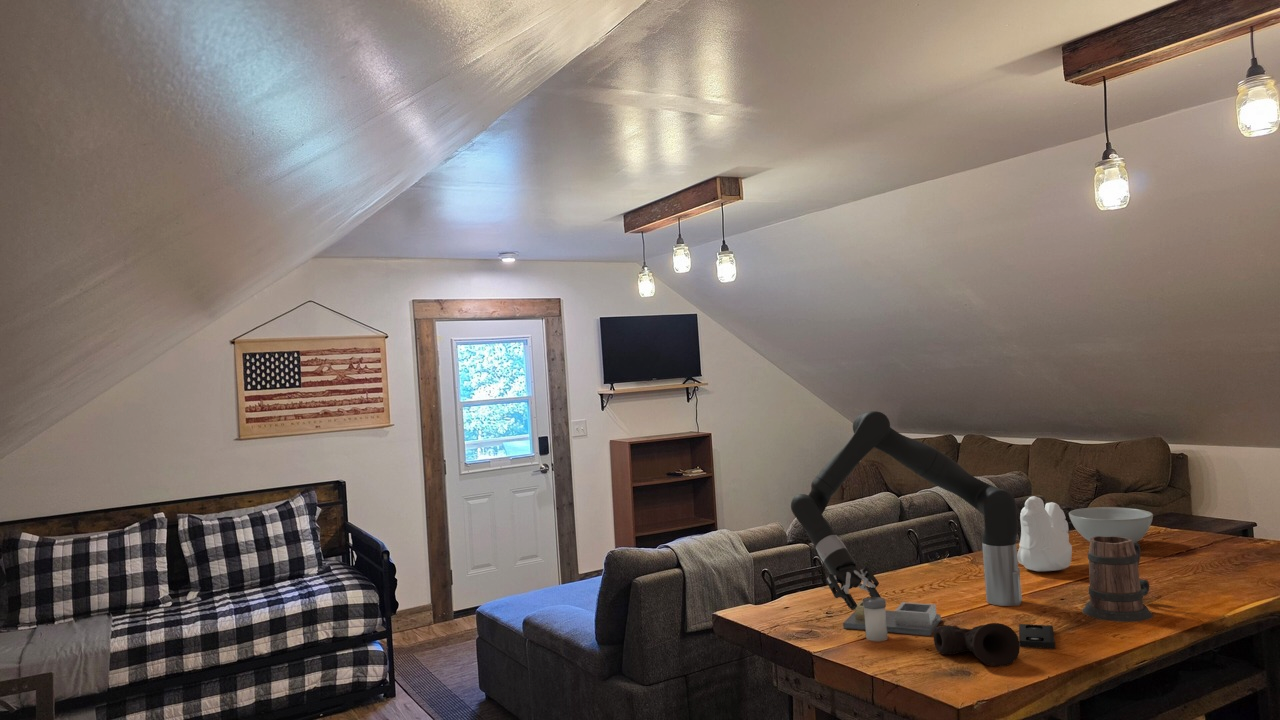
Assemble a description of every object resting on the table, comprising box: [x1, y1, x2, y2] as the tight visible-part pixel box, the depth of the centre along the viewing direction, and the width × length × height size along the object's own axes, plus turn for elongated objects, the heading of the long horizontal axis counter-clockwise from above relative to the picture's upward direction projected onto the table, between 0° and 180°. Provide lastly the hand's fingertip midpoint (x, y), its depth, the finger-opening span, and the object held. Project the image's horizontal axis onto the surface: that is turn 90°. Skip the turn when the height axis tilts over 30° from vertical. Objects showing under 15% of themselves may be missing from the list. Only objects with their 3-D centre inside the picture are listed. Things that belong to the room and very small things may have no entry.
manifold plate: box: [842, 600, 942, 637], centre depth 232 cm, size 23×15×5 cm, turn 60°
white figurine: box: [1017, 495, 1073, 572], centre depth 280 cm, size 25×16×25 cm, turn 116°
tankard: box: [1081, 536, 1154, 623], centre depth 231 cm, size 24×17×20 cm
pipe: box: [933, 622, 1021, 668], centre depth 203 cm, size 10×15×15 cm
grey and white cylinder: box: [862, 596, 888, 642], centre depth 221 cm, size 6×6×10 cm
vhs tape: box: [1018, 623, 1056, 650], centre depth 212 cm, size 14×8×2 cm, turn 156°
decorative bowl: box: [1068, 506, 1154, 543], centre depth 306 cm, size 27×27×12 cm
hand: (867, 605), depth 224 cm, fingers open, 8 cm apart
